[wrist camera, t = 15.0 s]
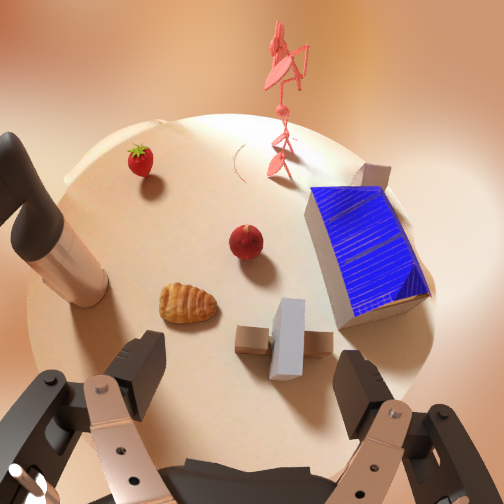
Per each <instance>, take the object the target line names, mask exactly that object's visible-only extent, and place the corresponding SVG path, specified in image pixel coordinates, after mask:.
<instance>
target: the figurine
mask: <svg viewBox="0 0 504 504" xmlns="http://www.w3.org/2000/svg"><path fill="white" fill-rule="evenodd" d="M283 39H284V25H283V24H281V23H280V22H279V20H278V21H277V22H276V28H275V37H274V39H273V40H272V41H271V43H270V53H271V56H272V57H274V58H273V66H272V71H271V72H270V74H269V76H268V78H267V80H266V83H265V88H264V90H267V89H269V88H270V87H272V86H273V85H275V84H276V83H277V82H278V81H280V80H281V79H282V78H283V77H284V76H285V75H286V73H287V72H288V70H289V69H290V67H291V64H292V67H293V70H294V74H295V78H291V79H288V80H284V81H282V83H280V105H279V106H278V107H277V108H276V113H277V114H278V115H279V116H280V117H281V119H282V122H283V124H284V126H285V130H284V133H283V134H281V135H280V136H279V137H278V138H276V139H275V140H274V141H273V142H272V143H271V145H276V144H278V143H279V142H281V141H282V140H283V139H284V138H285V139H286V140H285V143H284V146H283V149H282V151H281V153H278V154H277V155H276V156H274V158H273V159H272V160H271V162H270V165H269V168H268V172H267V176H270V175H273V174H275V173H277V172H278V171H279V170H280V169H281V167H282V166H283V165H284V167H285V169H286V171H287V173H288V175H289V176H291V174H290V172H289V170H288V168H287V165H286V163H285V161H284V160H285V154H284V153H283V151H284V148H285V145H286V143H288V145H289V148H290V150H291V152H292V153H294V152H293V149H292V147H291V145H290V142H289V140H288V138H289V132H288V129H287V121H288V116H289V109H288V107H287V106H285V105H282V95H283V83H286V82H289V81H292V80H295V79H296V82H297V86H298V90H299V91H300V90H301V84H300V79H302V78H303V77H304V76H305V74H306V66H307V57H308V48H309V45H308V44H307V45H306V46H303V47H300V48H299V49H297V50H295V51H293V52H292V53H289V51H288V49H287V44H286V42H285V41H284V40H283ZM305 49H306V54H305V63H304V72H303V75H302V74H300V73H299V70H298V68H297V66H296V64H295V62H294V56H295V55H296V54H299V53H300V52H302V51H303V50H305ZM286 54H287V55H288V56H287V57H286V58H285V59H283V58H284V57H285V56H286ZM282 59H283V60H282ZM286 115H287V119H286V124H285V122H284V120H283V118H282V117H284V116H286ZM286 131H287V132H286ZM292 139H293V138H292ZM295 140H297V139H295ZM237 152H238V151H237ZM235 170H236V169H235ZM236 172H237V171H236ZM237 174H238V173H237ZM240 178H241V177H240ZM241 179H242V178H241ZM242 180H243V179H242ZM243 181H244V180H243ZM244 182H245V181H244Z"/></svg>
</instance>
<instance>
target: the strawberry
mask: <svg viewBox="0 0 504 504" xmlns="http://www.w3.org/2000/svg"><path fill="white" fill-rule="evenodd" d="M142 144H143V143H142ZM142 144H141V145H140V146H138V145H137V146H138V148H133V149H132V150H128V152H131V154H130V156H129V158H128V165H129V168H130V169H131V171H132V172H133V173H134V174H136V175H138V176H142V177H148V175H149V173H150V171H151V168H152V165H153V154H152V152H151V150H150V149H149V148H147V147H142ZM134 145H135V144H134Z"/></svg>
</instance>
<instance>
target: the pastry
mask: <svg viewBox="0 0 504 504" xmlns="http://www.w3.org/2000/svg"><path fill="white" fill-rule="evenodd" d="M216 305H217V301H216V300H215V298H214V297H213V296H212V295H210V294H208V293H206V292H205V291H204V290H200V289H198V288H196V287H193V286H191V285H181V284H180V283H174V284H168V285H166V286H165V287H164V288H163V289H162V292H161V296H160V304H159V312H160V316H161V317H162V318H163V319H165V320H167V321H169V322H171V323H192V322H199V321H205V320H207V319H209V318H211V317H213V316H214V315H215V313H216Z"/></svg>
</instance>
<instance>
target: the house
mask: <svg viewBox="0 0 504 504" xmlns="http://www.w3.org/2000/svg"><path fill="white" fill-rule="evenodd" d="M310 189H311V190H312V191H311V194H310V197H309V201H308V204H307V207H306V210H305V213H304V217H305V220H306V223H307V226H308V229H309V232H310V235H311V238H312V241H313V245H314V248H315V251H316V254H317V257H318V261H319V264H320V267H321V271H322V274H323V278H324V281H325V285H326V288H327V292H328V295H329V299H330V303H331V306H332V310H333V314H334V318H335V321H336V325H337V329H338V330H340V329H344V328H348V327H353V326H357V325H361V324H365V323H369V322H373V321H377V320H380V319H384V318H388V317H391V316H395V315H398V314H402V313H405V312H408V311H409V310H411V309H412V308H414V307H415V306H417V305H418V304H420V303H421V302H422V301H424V300H425V299H427V298H428V297H429V296H430V297H432V296H431V293H430V290H429V288H428V285H427V282H426V280H425V277H424V275H423V272H422V270H421V267H420V265H419V263H418V260H417V258H416V256H415V253H414V251H413V249H412V246H411V244H410V242H409V240H408V238H407V236H406V234H405V231H404V229H403V227H402V225H401V223H400V221H399V219H398V217H397V215H396V213H395V211H394V209H393V208H392V206H391V204H390V202H389V200H388V198H387V196H386V195H385V193H384V191H383V189H382V187H381V186H340V187H310Z"/></svg>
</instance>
